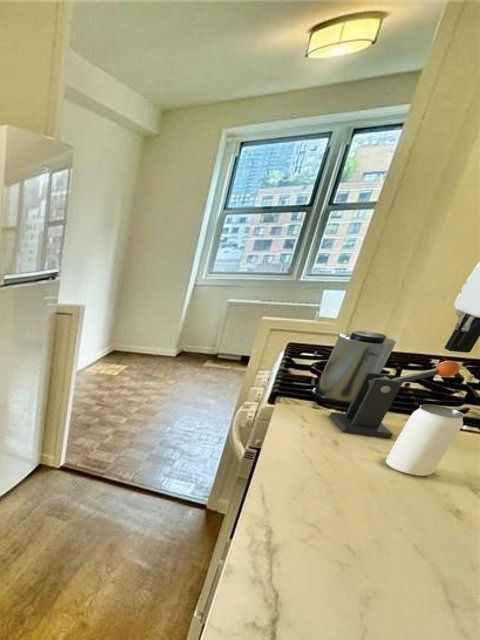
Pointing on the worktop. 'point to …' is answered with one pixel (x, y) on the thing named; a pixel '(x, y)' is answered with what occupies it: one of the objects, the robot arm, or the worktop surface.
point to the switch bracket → (369, 406)
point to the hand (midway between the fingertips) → (456, 350)
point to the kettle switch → (430, 372)
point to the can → (425, 440)
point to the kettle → (351, 366)
